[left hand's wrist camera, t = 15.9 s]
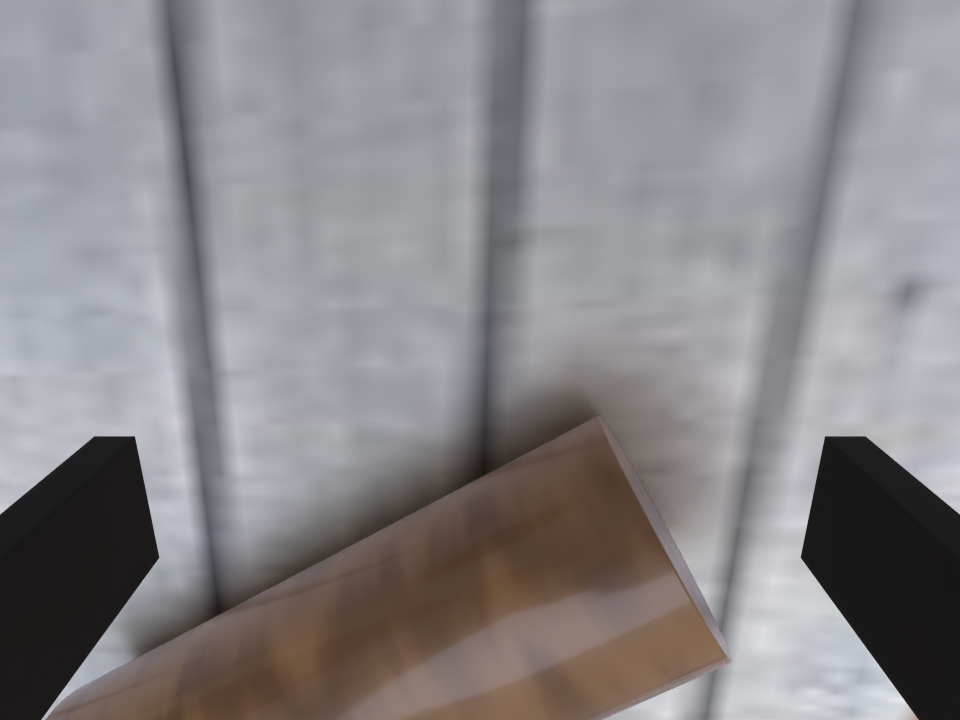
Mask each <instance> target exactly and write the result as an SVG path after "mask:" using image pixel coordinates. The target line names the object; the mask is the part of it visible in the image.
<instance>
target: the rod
mask: <svg viewBox="0 0 960 720" xmlns="http://www.w3.org/2000/svg"><path fill="white" fill-rule="evenodd" d="M731 662H732V660H731V655H730V652H729V650H728V648H727V645H726V643H725V641H724V638H723V636H722V634H721V632H720V630H719V628H718V626H717V623H716V621H715V619H714V617H713V615H712V613H711V611H710V609H709V607H708V605H707V603H706V601H705V599H704V597H703V595H702V593H701V591H700V589H699V587H698V585H697V583H696V581H695V579H694V578H693V576H692V574H691V572H690V570H689V568H688V566H687V564H686V562H685V560H684V558H683V557H682V555H681V553H680V551H679V549H678V547H677V545H676V543H675V541H674V540H673V538H672V536H671V534H670V532H669V530H668V528H667V527H666V525H665V523H664V521H663V519H662V517H661V516H660V514H659V512H658V510H657V508H656V507H655V505H654V503H653V501H652V499H651V498H650V496H649V494H648V492H647V490H646V489H645V487H644V485H643V483H642V482H641V480H640V478H639V476H638V475H637V473H636V471H635V469H634V468H633V466H632V464H631V462H630V461H629V459H628V457H627V456H626V454H625V452H624V451H623V449H622V447H621V446H620V444H619V442H618V441H617V439H616V437H615V436H614V434H613V433H612V431H611V430H610V428H609V426H608V425H607V424H606V422H605V421H604V420H603V418H602V417H600V416H596V417H594V418H592V419H590V420H589V421H587V422H585V423H583V424H581V425H579V426H577V427H575V428H573V429H571V430H570V431H568V432H566V433H564V434H562V435H560V436H558V437H556V438H554V439H552V440H551V441H549V442H547V443H545V444H543V445H541V446H539V447H537V448H535V449H533V450H531V451H530V452H528V453H526V454H524V455H522V456H520V457H518V458H516V459H514V460H512V461H511V462H509V463H507V464H505V465H503V466H501V467H499V468H497V469H495V470H493V471H492V472H490V473H488V474H486V475H484V476H482V477H480V478H478V479H476V480H474V481H473V482H471V483H469V484H467V485H465V486H463V487H461V488H459V489H457V490H455V491H453V492H452V493H450V494H448V495H446V496H444V497H442V498H440V499H438V500H436V501H434V502H433V503H431V504H429V505H427V506H425V507H423V508H421V509H419V510H417V511H415V512H414V513H412V514H410V515H408V516H406V517H404V518H402V519H400V520H398V521H396V522H394V523H393V524H391V525H389V526H387V527H385V528H383V529H381V530H379V531H377V532H375V533H374V534H372V535H370V536H368V537H366V538H364V539H362V540H360V541H358V542H356V543H355V544H353V545H351V546H349V547H347V548H345V549H343V550H341V551H339V552H337V553H336V554H334V555H332V556H330V557H328V558H326V559H324V560H322V561H320V562H318V563H316V564H315V565H313V566H311V567H309V568H307V569H305V570H303V571H301V572H299V573H297V574H296V575H294V576H292V577H290V578H288V579H286V580H284V581H282V582H280V583H278V584H277V585H275V586H273V587H271V588H269V589H267V590H265V591H263V592H261V593H259V594H257V595H256V596H254V597H252V598H250V599H248V600H246V601H244V602H242V603H240V604H238V605H237V606H235V607H233V608H231V609H229V610H227V611H225V612H223V613H221V614H219V615H218V616H216V617H214V618H212V619H210V620H208V621H206V622H204V623H202V624H200V625H198V626H197V627H195V628H193V629H191V630H189V631H187V632H185V633H183V634H181V635H179V636H178V637H176V638H174V639H172V640H170V641H168V642H166V643H164V644H162V645H160V646H159V647H157V648H155V649H153V650H151V651H149V652H147V653H145V654H143V655H141V656H140V657H138V658H136V659H134V660H132V661H130V662H128V663H126V664H124V665H122V666H120V667H119V668H117V669H115V670H113V671H111V672H109V673H107V674H105V675H103V676H101V677H100V678H98V679H96V680H94V681H92V682H90V683H88V684H86V685H84V686H83V687H81V688H79V689H77V690H76V691H74V692H73V693H71V694H70V695H69V696H67V697H66V698H65V699H64V700H63V701H62V702H61V703H60V704H59V705H58V706H57V707H56V708H55V709H54V710H53V711H52V712H51V714H50V715H49V716H48V717H47V719H46V720H602V719H605V718H607V717H609V716H612V715H614V714H616V713H618V712H621V711H623V710H625V709H627V708H630V707H632V706H634V705H636V704H639V703H641V702H643V701H646V700H648V699H650V698H652V697H655V696H657V695H659V694H661V693H664V692H666V691H668V690H671V689H673V688H675V687H677V686H680V685H682V684H684V683H686V682H689V681H691V680H693V679H696V678H698V677H700V676H702V675H705V674H707V673H709V672H711V671H714V670H716V669H718V668H721V667H723V666H725V665H727V664H730V663H731Z"/></svg>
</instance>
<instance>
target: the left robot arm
mask: <svg viewBox="0 0 960 720" xmlns="http://www.w3.org/2000/svg"><path fill="white" fill-rule="evenodd" d="M158 559H159V554H158V549H157V544H156V539H155V534H154V529H153V524H152V519H151V514H150V510H149V505H148V500H147V495H146V490H145V485H144V480H143V475H142V470H141V465H140V460H139V455H138V450H137V445H136V440H135V437H93V438H92V439H91V440H90V441H89V442H87V443H86V444H85V445H84V446H83V447H81V448H80V449H79V450H78V451H76V452H75V453H74V454H73V455H72V456H70V457H69V458H68V459H67V460H66V461H64V462H63V463H62V464H61V465H60V466H58V467H57V468H56V469H55V470H54V471H52V472H51V473H50V474H49V475H47V476H46V477H45V478H44V479H43V480H41V481H40V482H39V483H38V484H37V485H35V486H34V487H33V488H32V489H31V490H29V491H28V492H27V493H26V494H25V495H23V496H22V497H21V498H20V499H19V500H17V501H16V502H15V503H14V504H12V505H11V506H10V507H9V508H8V509H6V510H5V511H4V512H3V513H2V514H0V720H41V719H42V718H43V716H44V715H45V714H46V712H47V711H48V710H49V708H50V707H51V705H52V704H53V703H54V701H55V700H56V699H57V697H58V696H59V694H60V693H61V692H62V690H63V689H64V688H65V686H66V685H67V683H68V682H69V681H70V679H71V678H72V677H73V675H74V674H75V672H76V671H77V670H78V668H79V667H80V666H81V664H82V663H83V662H84V660H85V659H86V657H87V656H88V655H89V653H90V652H91V651H92V649H93V648H94V646H95V645H96V644H97V642H98V641H99V640H100V638H101V637H102V635H103V634H104V633H105V631H106V630H107V629H108V627H109V626H110V624H111V623H112V622H113V620H114V619H115V618H116V616H117V615H118V613H119V612H120V611H121V609H122V608H123V607H124V605H125V604H126V602H127V601H128V600H129V598H130V597H131V596H132V594H133V593H134V591H135V590H136V589H137V587H138V586H139V585H140V583H141V582H142V581H143V579H144V578H145V576H146V575H147V574H148V572H149V571H150V570H151V568H152V567H153V565H154V564H155V563H156V561H157V560H158ZM801 559H802V560H803V561H804V563H805V564H806V565H807V567H808V568H809V570H810V571H811V572H812V574H813V575H814V576H815V578H816V579H817V581H818V582H819V583H820V585H821V586H822V587H823V589H824V590H825V592H826V593H827V594H828V596H829V597H830V598H831V600H832V601H833V602H834V604H835V605H836V607H837V608H838V609H839V611H840V612H841V613H842V615H843V616H844V618H845V619H846V620H847V622H848V623H849V624H850V626H851V627H852V629H853V630H854V631H855V633H856V634H857V635H858V637H859V638H860V640H861V641H862V642H863V644H864V645H865V646H866V648H867V649H868V651H869V652H870V653H871V655H872V656H873V657H874V659H875V660H876V662H877V663H878V664H879V666H880V667H881V668H882V670H883V671H884V673H885V674H886V675H887V677H888V678H889V679H890V681H891V682H892V683H893V685H894V686H895V688H896V689H897V690H898V692H899V693H900V694H901V696H902V697H903V699H904V700H905V701H906V703H907V704H908V705H909V707H910V708H911V710H912V711H913V712H914V714H915V715H916V716H917V718H918V719H919V720H960V514H958V513H957V512H956V511H955V510H954V509H952V508H951V507H950V506H949V505H948V504H946V503H945V502H944V501H943V500H941V499H940V498H939V497H938V496H937V495H935V494H934V493H933V492H932V491H931V490H929V489H928V488H927V487H926V486H925V485H923V484H922V483H921V482H920V481H919V480H917V479H916V478H915V477H914V476H912V475H911V474H910V473H909V472H908V471H906V470H905V469H904V468H903V467H902V466H900V465H899V464H898V463H897V462H896V461H894V460H893V459H892V458H891V457H890V456H888V455H887V454H886V453H885V452H884V451H882V450H881V449H880V448H879V447H877V446H876V445H875V444H874V443H873V442H871V441H870V440H869V439H868V438H867V437H825V440H824V445H823V450H822V455H821V460H820V465H819V470H818V475H817V480H816V485H815V490H814V495H813V500H812V505H811V510H810V514H809V519H808V524H807V529H806V534H805V539H804V544H803V549H802V554H801Z"/></svg>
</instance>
